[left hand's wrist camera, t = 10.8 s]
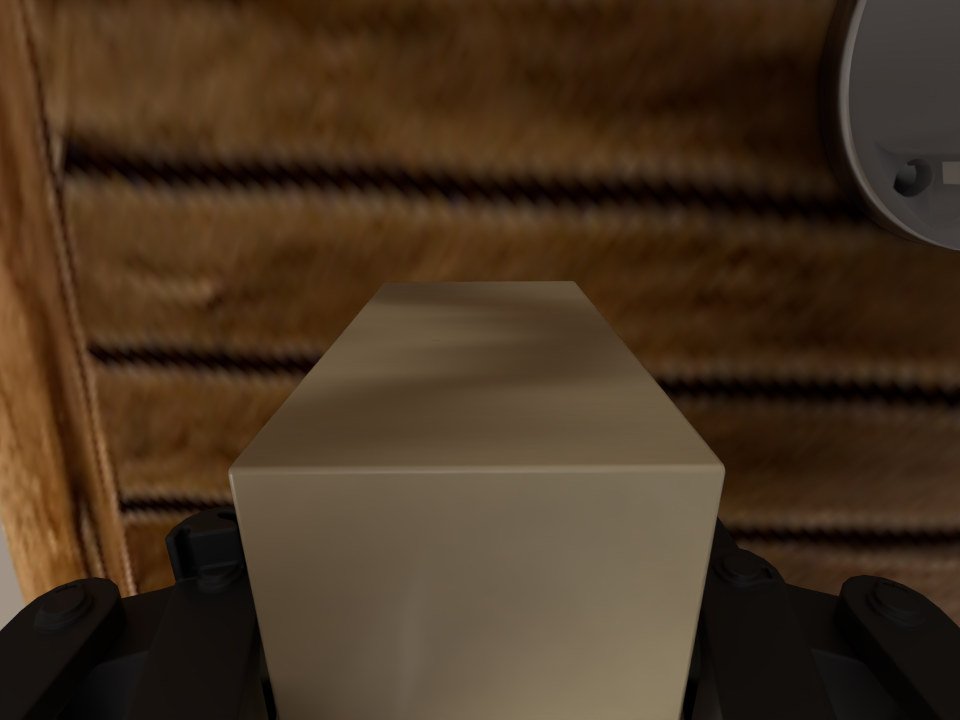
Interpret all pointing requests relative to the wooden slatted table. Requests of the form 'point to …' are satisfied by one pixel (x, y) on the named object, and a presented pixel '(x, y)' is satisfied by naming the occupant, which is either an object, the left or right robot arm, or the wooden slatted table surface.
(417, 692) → the birch rail
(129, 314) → the wooden slatted table surface
